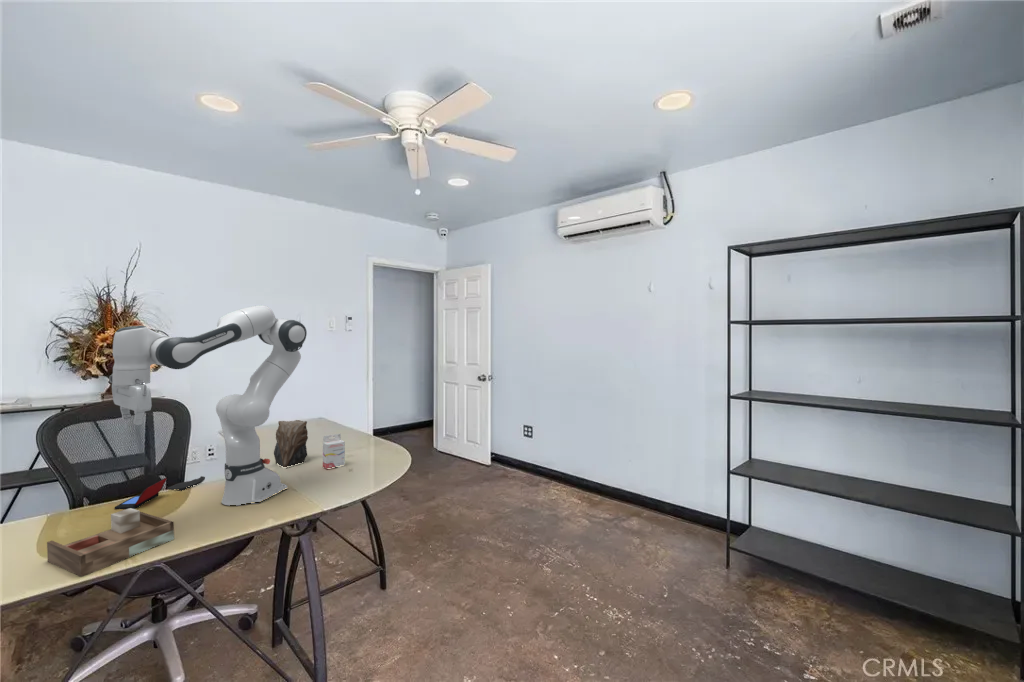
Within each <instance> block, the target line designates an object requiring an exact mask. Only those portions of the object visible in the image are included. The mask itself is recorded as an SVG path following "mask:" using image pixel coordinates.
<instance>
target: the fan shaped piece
mask: <svg viewBox="0 0 1024 682" xmlns="http://www.w3.org/2000/svg"><path fill="white" fill-rule="evenodd" d="M205 479H206V476H202V475H201V476H200V477H197V478H195V479H191V480H188V481H182V482H178V483H175V484H174V485H170V486H168V487H167V490H170V491H175V490H174V489H179V490H178V491H180V490H181V491H180V492H183V491H185V489H186V487H187V488H189V489H191V488H190V487H191V486H192V488H194V487H193V485H196V486H198V485H200V484H202V483H203V482H204V481H205ZM197 484H198V485H197ZM188 486H190V487H188ZM182 490H183V491H182ZM186 490H187V489H186Z"/></svg>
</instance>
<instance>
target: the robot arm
mask: <svg viewBox="0 0 1024 682" xmlns="http://www.w3.org/2000/svg"><path fill="white" fill-rule="evenodd" d="M307 335H308V333H307V328H306V327H305V325H304V324H303V323H301V322H300V321H299V320H295V319H289V318H277V317H276V316H275V313H274V312H273V310H272V309H271V308H270V307H268V306H266V305H262V304H261V305H253V306H247V307H243V308H240V309H237V310H233V311H231V312H228V313H226V314H224V315H222V316H221V317H219V318H218V320H217V323H216V327H215V328H214V329H212V330H208V331H205V332H203V333H200V334H198V335H195V336H191V337H183V336H182V337H181V336H175V337H174V336H168V335H165V334H161V333H160V332H156V331H154V330H152V329H150V328H149V327H147V326H146V325H131V326H124V327H121V328H119V329H117V330H116V331H115V333H114V335H113V341H112V357H113V360H114V364H113V367H112V373H111V375H109V383H111V393H112V401H113V404H114V405H116V406H119V409H120V413H121V416H122V417H121V419H122V420H123V421H125V422H126V421H131V419H132V414H131V411H133V413H134V418H133V424H134V425H136V426H140V425H143V421H144V415H145V412H149V411H151V409H152V406H153V405H152V392H151V388H150V386H149V385H147V384H150V383H151V366H152V365H158V366H162V367H166V368H167V369H168V368H169V369H171V370H182V369H183V370H184V369H186V368H188V367H190V366H192V365H193V364H194V363H195V362H196V361H198V359H200V358H201V357H202V356H204V355H205V354H208V353H210V352H213V351H215V350H218V349H219V348H223V347H225V346H226V345H229V344H232V343H238V342H242V341H245V340H248V339H251V338H253V337H256V336H258V338H259V339H260V341H261V342H263V343H265V344H267V345H270V346H272V349H271V352H270V354H269V355H268V356H267V358H266V359H265V360H264V361H263V362H262V363H261V364H260V365H259V366H258V368H257V369H256V370H255V371H254V372H253V374H252V375H251V376H250V378H249V383H248V386H247V387H246V389H245V391H244V393H242V394H236V393H235V394H229V395H226V396H224V397H222V398H220V400H218V401H217V404H216V407H215V411H216V414H217V416H218V418H219V421H220V426H221V430H222V434H223V438H224V445H225V463H224V478H225V480H224V481H225V483H224V485H225V486H224V492H223V495H222V498H221V504H222V505H225V506H230V505H236V506H242V505H241V504H245V505H247V504H246V503H251V502H260V501H262V500H264V499H266V498H268V497H270V496H272V495H273V494H275V493H278V492H279V491H281V490H283V489H285V488H287V487H288V484H285V483H284V482H283V483H282V480H281V477H280V475H279V474H278V473H277V472H276V471H274V470H272V469H270V468H268V467H266V466H265V465H269V464H270V463H271V459H270V458H264V459H263V458H261V440H260V437H259V435H258V433H257V430H256V428H257V427H260V426H262V425H263V424H265V423H266V422H267V420H269V417H270V408H271V405H272V403H273V401H274V399H275V396H276V395H277V394H278V392H279V391H280V390H281V388H282V387H283V386H284V384H285V383H286V382H287V381H288V379H289V378H290V377H291V376H292V374H293V373H294V371H295V370H296V368H297V367H298V364H300V361H301V358H302V356H301V355H302V354H301V352H300V351H299V350H300V349H302V348H303V344H305V341H306V339H307ZM251 504H252V503H251Z"/></svg>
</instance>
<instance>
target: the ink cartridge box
mask: <svg viewBox="0 0 1024 682" xmlns="http://www.w3.org/2000/svg"><path fill="white" fill-rule="evenodd" d="M322 437H323V439H322V468H323V467H324V468H323V469H325V468H326V469H327V468H332V467H336V466H340V465H344V464H346V463H345V461H346V460H345V459H346V457H345V456H346V452H345V451H346V450H345V449H346V447H345V446H346V445H345V444H346V443H345V441H344V440H343V439H341V437H342V435H341V433H334V434H333V433H332V434H328V435H323V436H322ZM326 469H325V470H326Z"/></svg>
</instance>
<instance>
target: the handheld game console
mask: <svg viewBox="0 0 1024 682" xmlns="http://www.w3.org/2000/svg"><path fill="white" fill-rule="evenodd" d="M166 481H167V477H165V478H163V479H160V480H158V481H157V482H155V483H153V484H151V485H149V486H148V487H146V488H144V489H143V490H142V492H141V493H139V494H136V495H134V496H133V497H130V498H128V499H126V500H125V501H122V502H121V503H119V504H117V505H116V506H114V510H115V509H123V510H126V509H129V508H132V509H135V508H137V509H139V508H140V507H142V506H143V505H145V504H146V503H148V502H150V501H152V500H154V499H156V498H157V497H158V496H159V494H160V491H161V489H162V487H163V486H164V485H165V482H166ZM149 500H150V501H149ZM147 501H148V502H147ZM145 502H146V503H145ZM144 503H145V504H144ZM142 504H143V505H142ZM141 505H142V506H141ZM139 506H140V507H139ZM135 510H136V509H135Z"/></svg>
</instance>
